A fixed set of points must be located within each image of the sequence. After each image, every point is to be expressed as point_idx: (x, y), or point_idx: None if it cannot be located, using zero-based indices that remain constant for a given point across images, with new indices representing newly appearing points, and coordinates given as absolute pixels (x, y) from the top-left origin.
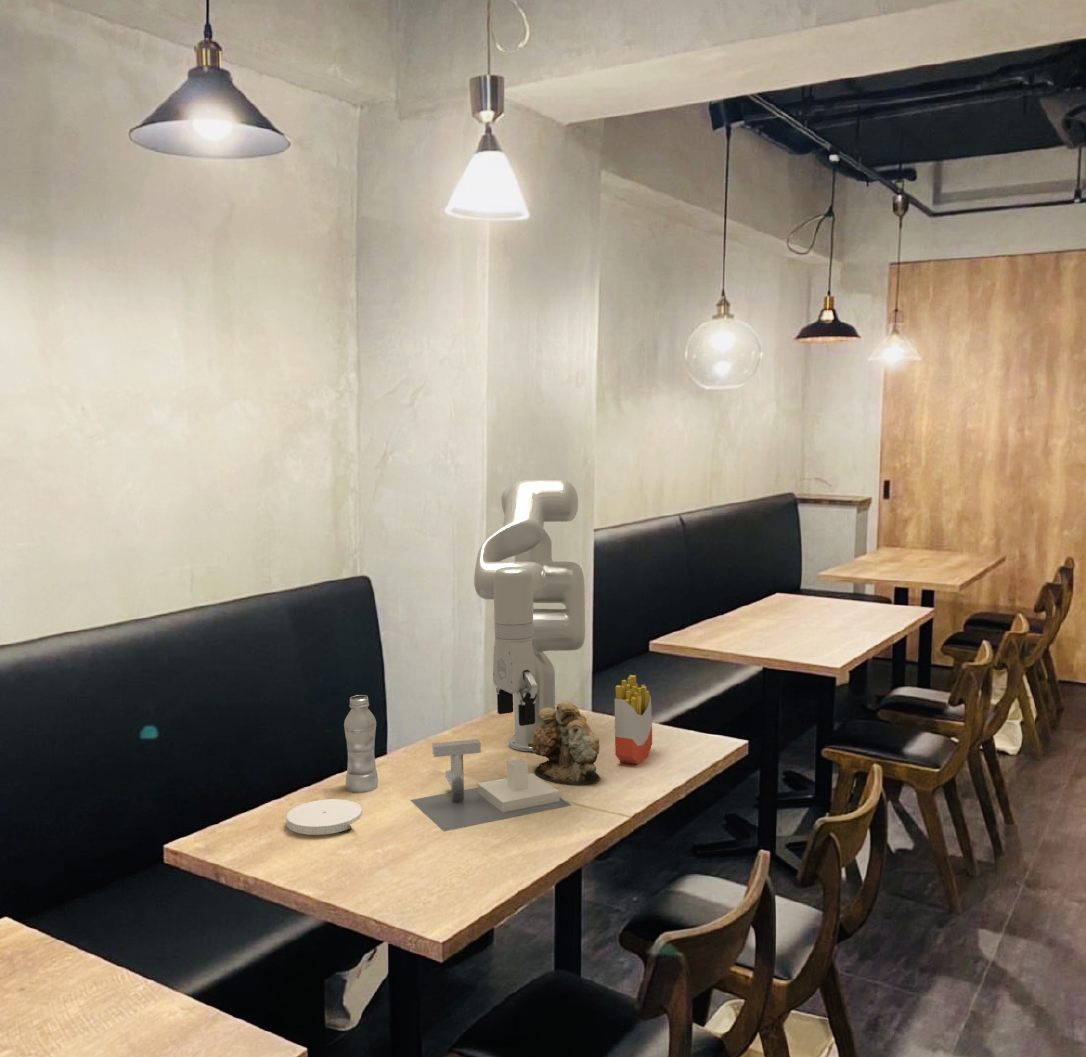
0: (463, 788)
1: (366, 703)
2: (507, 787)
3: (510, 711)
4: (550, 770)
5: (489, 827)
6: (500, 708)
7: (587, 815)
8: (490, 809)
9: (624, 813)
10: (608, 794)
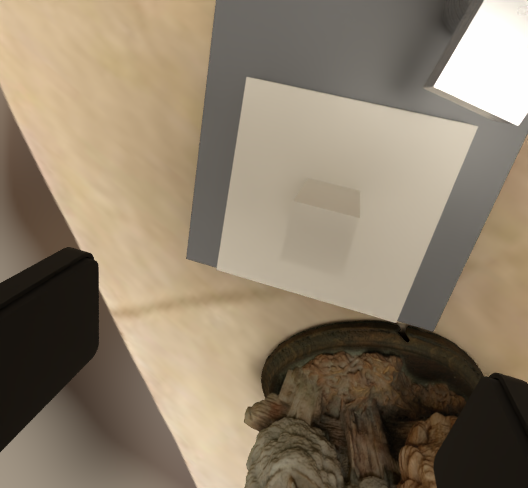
0: (456, 18)
1: None
2: (350, 182)
3: (444, 453)
4: (387, 378)
5: None
6: (497, 419)
7: (162, 263)
8: (305, 61)
9: (130, 320)
10: (234, 377)
